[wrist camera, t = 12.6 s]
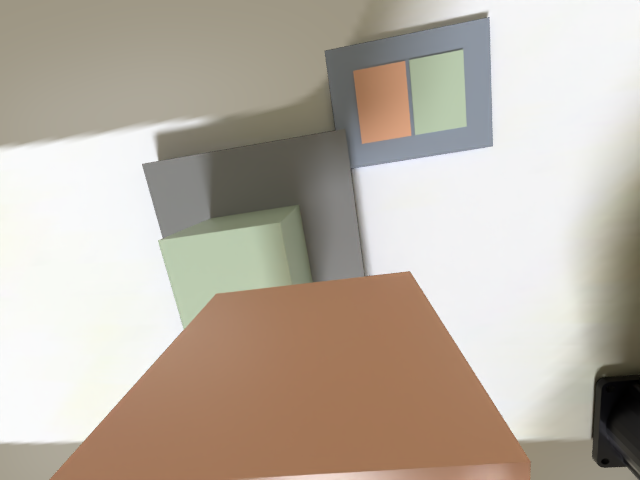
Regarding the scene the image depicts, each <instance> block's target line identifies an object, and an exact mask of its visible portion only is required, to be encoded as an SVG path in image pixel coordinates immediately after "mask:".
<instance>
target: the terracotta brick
mask: <svg viewBox="0 0 640 480" xmlns="http://www.w3.org/2000/svg"><path fill="white" fill-rule="evenodd" d="M530 463H531V462H530V460H529V458H528V457H527V455H526V454H525V452H524V451H523V449H522V448H521V446H520V444H519V443H518V441H517V439H516V438H515V436H514V435H513V433H512V432H511V430H510V428H509V427H508V425H507V424H506V422H505V421H504V419H503V417H502V416H501V414H500V413H499V411H498V410H497V408H496V406H495V405H494V403H493V402H492V400H491V398H490V397H489V395H488V394H487V392H486V391H485V389H484V387H483V386H482V384H481V383H480V381H479V380H478V378H477V376H476V375H475V373H474V372H473V370H472V369H471V367H470V365H469V364H468V362H467V361H466V359H465V357H464V356H463V354H462V353H461V351H460V350H459V348H458V346H457V345H456V343H455V342H454V340H453V339H452V337H451V335H450V334H449V332H448V331H447V329H446V328H445V326H444V324H443V323H442V321H441V320H440V318H439V316H438V315H437V313H436V312H435V310H434V309H433V307H432V305H431V304H430V302H429V301H428V299H427V298H426V296H425V294H424V293H423V291H422V290H421V288H420V287H419V285H418V283H417V282H416V280H415V279H414V277H413V276H412V274H411V272H410V271H408V272H400V273H391V274H382V275H374V276H365V277H356V278H348V279H339V280H330V281H322V282H313V283H304V284H296V285H287V286H278V287H270V288H261V289H252V290H244V291H235V292H226V293H218V294H215V296H214V297H213V298H212V299H211V300H210V301H209V302H208V303H207V304H206V306H205V307H204V308H203V309H202V310H201V311H200V312H199V313H198V314H197V316H196V317H195V318H194V319H193V320H192V321H191V322H190V323H189V325H188V326H187V327H186V328H185V329H184V330H183V331H182V332H181V333H180V335H179V336H178V337H177V338H176V339H175V340H174V341H173V342H172V344H171V345H170V346H169V347H168V348H167V349H166V350H165V351H164V352H163V354H162V355H161V356H160V357H159V358H158V359H157V360H156V361H155V362H154V364H153V365H152V366H151V367H150V368H149V369H148V370H147V371H146V373H145V374H144V375H143V376H142V377H141V378H140V379H139V380H138V381H137V383H136V384H135V385H134V386H133V387H132V388H131V389H130V390H129V392H128V393H127V394H126V395H125V396H124V397H123V398H122V399H121V400H120V402H119V403H118V404H117V405H116V406H115V407H114V408H113V409H112V411H111V412H110V413H109V414H108V415H107V416H106V417H105V418H104V419H103V421H102V422H101V423H100V424H99V425H98V426H97V427H96V428H95V429H94V431H93V432H92V433H91V434H90V435H89V436H88V437H87V438H86V440H85V441H84V442H83V443H82V444H81V445H80V446H79V447H78V449H77V450H76V451H75V452H74V453H73V454H72V455H71V456H70V457H69V459H68V460H67V461H66V462H65V463H64V464H63V465H62V466H61V467H60V469H59V470H58V471H57V472H56V473H55V474H54V475H53V476H52V477H51V479H50V480H530V467H531V464H530Z"/></svg>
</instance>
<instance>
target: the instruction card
mask: <svg viewBox="0 0 640 480" xmlns="http://www.w3.org/2000/svg"><path fill="white" fill-rule="evenodd" d="M325 57H326V64H327V72H328V79H329V86H330V93H331V101H332V108H333V115H334V122H335V130H341V129H345V131H346V139H347V146H348V154H349V162H350V169H352V168H359V167H365V166H371V165H378V164H384V163H390V162H397V161H403V160H409V159H416V158H422V157H428V156H434V155H441V154H447V153H453V152H460V151H466V150H472V149H479V148H485V147H491V146H493V134H492V97H491V60H490V22H489V17H488V18H483V19H478V20H473V21H468V22H464V23H459V24H454V25H449V26H444V27H439V28H434V29H429V30H424V31H419V32H414V33H409V34H404V35H400V36H395V37H390V38H385V39H380V40H375V41H370V42H365V43H360V44H355V45H350V46H345V47H340V48H336V49H331V50H326V51H325Z"/></svg>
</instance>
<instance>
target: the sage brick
mask: <svg viewBox="0 0 640 480" xmlns="http://www.w3.org/2000/svg"><path fill="white" fill-rule="evenodd" d="M158 242H159V246H160V249H161V252H162V256H163V259H164V263H165V266H166V270H167V273H168V277H169V280H170V283H171V287H172V290H173V294H174V297H175V301H176V304H177V308H178V311H179V314H180V318H181V321H182V325H183V328H184V329H185V328H186V327H187V326H188V325H189V323H190V322H191V321H192V320H193V319H194V318H195V317H196V316H197V314H198V313H199V312H200V311H201V310H202V309H203V308H204V307H205V306H206V304H207V303H208V302H209V301H210V300H211V299H212V298H213V297H214V296H215V294H218V293H226V292H235V291H244V290H252V289H261V288H270V287H278V286H287V285H296V284H304V283H313V281H312V276H311V270H310V264H309V259H308V253H307V247H306V242H305V236H304V231H303V225H302V219H301V214H300V208H299V205H294V206H288V207H281V208H275V209H268V210H262V211H255V212H249V213H242V214H235V215H229V216H222V217H216V218H210V219H208V220H205V221H203V222H201V223H198V224H196V225H194V226H191V227H189V228H186V229H184V230H182V231H179V232H177V233H175V234H172V235H170V236H168V237H165V238H163V239H161V240H158Z"/></svg>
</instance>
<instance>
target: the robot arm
mask: <svg viewBox="0 0 640 480" xmlns="http://www.w3.org/2000/svg"><path fill="white" fill-rule="evenodd" d="M607 386H608V387H607ZM592 457H593V459H594V461H595V462H596V463H597V464H598V465H599V466H600V467H604V468H606V467H628V469H629V470H630V471H631V472H632V473H633V474H634V475H635V476H636V477H637V478H638V479H639V480H640V375H629V376H616V377H605V378H601V379H600V380H599V381H598V382H597V384H596V399H595V416H594V434H593V451H592Z"/></svg>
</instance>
